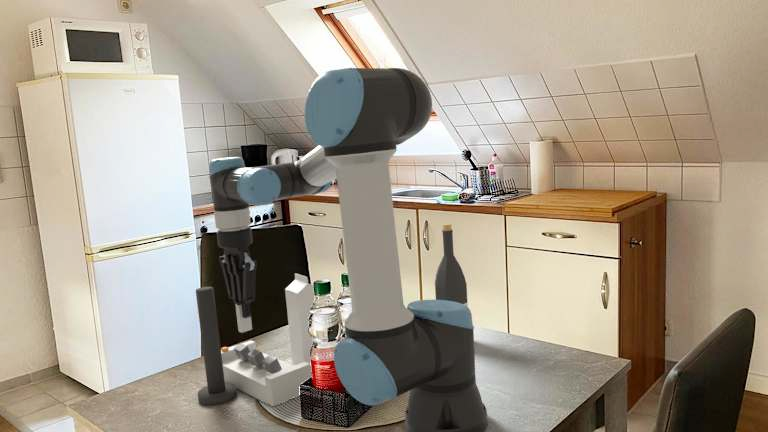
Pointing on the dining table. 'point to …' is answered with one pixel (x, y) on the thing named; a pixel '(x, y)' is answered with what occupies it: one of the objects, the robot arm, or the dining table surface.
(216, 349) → the post
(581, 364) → the dining table surface
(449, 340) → the robot arm
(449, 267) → the wine bottle
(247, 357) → the paddle bank
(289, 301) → the milk
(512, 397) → the dining table surface
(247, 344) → the strip
